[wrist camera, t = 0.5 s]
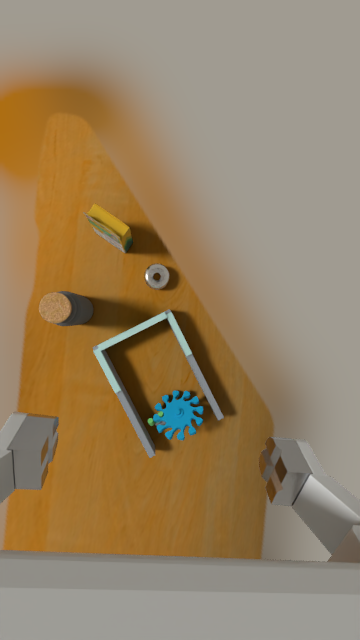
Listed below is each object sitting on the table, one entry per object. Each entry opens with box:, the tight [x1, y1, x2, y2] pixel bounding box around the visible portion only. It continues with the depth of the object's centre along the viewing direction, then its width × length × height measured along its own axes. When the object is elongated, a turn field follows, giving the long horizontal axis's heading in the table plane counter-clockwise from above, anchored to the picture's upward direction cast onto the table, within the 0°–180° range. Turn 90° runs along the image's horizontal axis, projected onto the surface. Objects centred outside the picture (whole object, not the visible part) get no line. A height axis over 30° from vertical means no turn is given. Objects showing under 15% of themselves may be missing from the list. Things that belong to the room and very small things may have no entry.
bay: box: [93, 309, 224, 458], centre depth 59 cm, size 24×16×5 cm
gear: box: [148, 391, 203, 440], centre depth 60 cm, size 11×6×10 cm
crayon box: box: [83, 204, 133, 253], centre depth 54 cm, size 7×3×12 cm, turn 56°
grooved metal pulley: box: [144, 264, 170, 290], centre depth 60 cm, size 5×3×5 cm
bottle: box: [39, 291, 93, 326], centre depth 52 cm, size 6×6×15 cm
